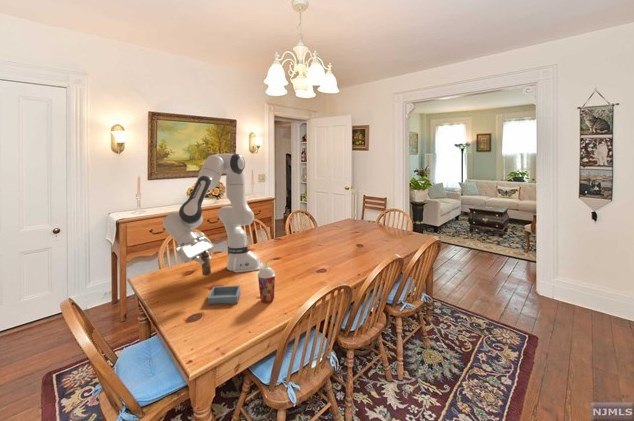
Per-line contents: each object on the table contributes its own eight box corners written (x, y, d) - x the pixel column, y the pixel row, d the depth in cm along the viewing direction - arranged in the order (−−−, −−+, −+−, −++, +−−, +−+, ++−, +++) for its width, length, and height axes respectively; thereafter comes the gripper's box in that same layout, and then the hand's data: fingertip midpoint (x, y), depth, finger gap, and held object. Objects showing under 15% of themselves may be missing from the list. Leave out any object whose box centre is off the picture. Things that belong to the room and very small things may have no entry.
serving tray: (240, 292, 163) (240, 285, 163) (237, 303, 151) (237, 296, 150) (213, 293, 162) (213, 286, 161) (208, 305, 149) (207, 298, 149)
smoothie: (276, 296, 159) (275, 258, 155) (275, 304, 150) (273, 264, 147) (260, 296, 158) (258, 259, 155) (257, 304, 150) (256, 265, 146)
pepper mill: (211, 272, 157) (210, 249, 155) (210, 275, 153) (208, 251, 151) (203, 272, 157) (201, 249, 155) (201, 275, 153) (199, 252, 151)
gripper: (177, 242, 144) (197, 265, 143) (204, 231, 163) (222, 251, 162) (169, 251, 146) (189, 273, 145) (197, 239, 165) (215, 258, 164)
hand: (207, 261), depth 154 cm, fingers closed on pepper mill, 4 cm apart
